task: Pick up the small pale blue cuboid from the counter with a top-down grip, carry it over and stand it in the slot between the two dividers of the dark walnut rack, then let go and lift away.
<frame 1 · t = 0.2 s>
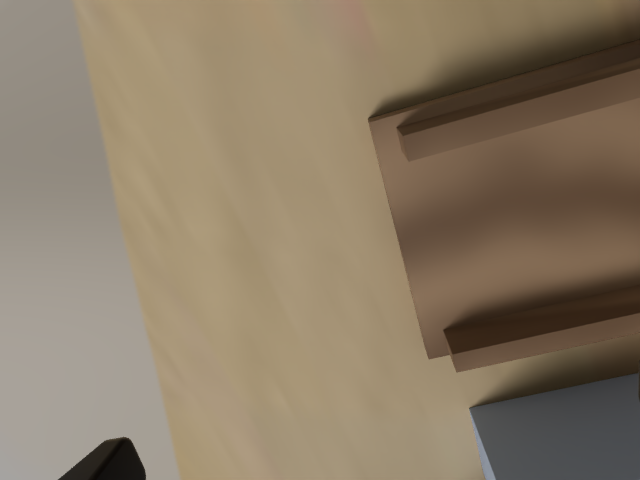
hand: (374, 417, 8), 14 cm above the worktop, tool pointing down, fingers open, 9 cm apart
pale blue cuboid: (557, 424, 27), on the worktop
walnut rack: (551, 205, 22), on the worktop
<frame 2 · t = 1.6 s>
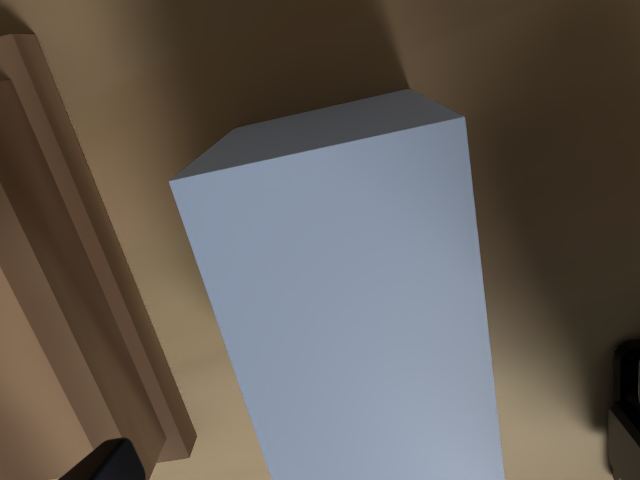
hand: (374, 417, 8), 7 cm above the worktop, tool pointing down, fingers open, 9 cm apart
pale blue cuboid: (351, 252, 15), on the worktop
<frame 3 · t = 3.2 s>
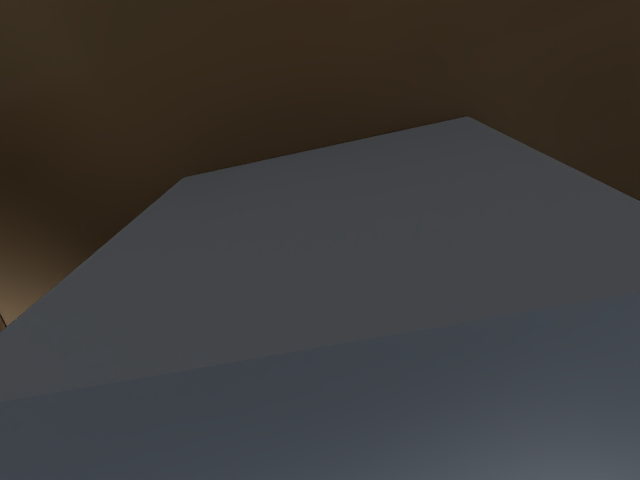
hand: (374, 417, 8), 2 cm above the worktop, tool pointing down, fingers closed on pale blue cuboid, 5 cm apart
pale blue cuboid: (368, 362, 10), on the worktop, touching gripper
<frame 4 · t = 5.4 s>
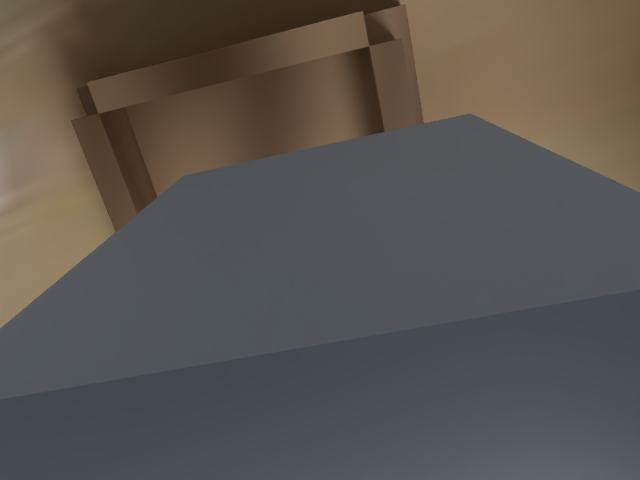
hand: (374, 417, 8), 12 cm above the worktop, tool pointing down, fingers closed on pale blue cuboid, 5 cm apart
pale blue cuboid: (369, 361, 10), point 11 cm above the worktop, touching gripper
walnut rack: (287, 224, 20), on the worktop
when the fingers open (4 cm above the worktop, at t = 7.8 s): pale blue cuboid drops 1 cm, resting on walnut rack.
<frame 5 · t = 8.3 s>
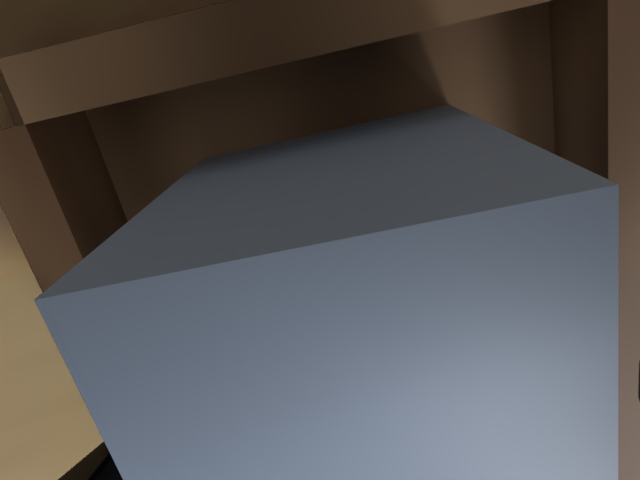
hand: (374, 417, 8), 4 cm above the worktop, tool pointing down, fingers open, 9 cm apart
pale blue cuboid: (364, 323, 11), point 1 cm above the worktop, touching walnut rack
walnut rack: (360, 305, 12), on the worktop
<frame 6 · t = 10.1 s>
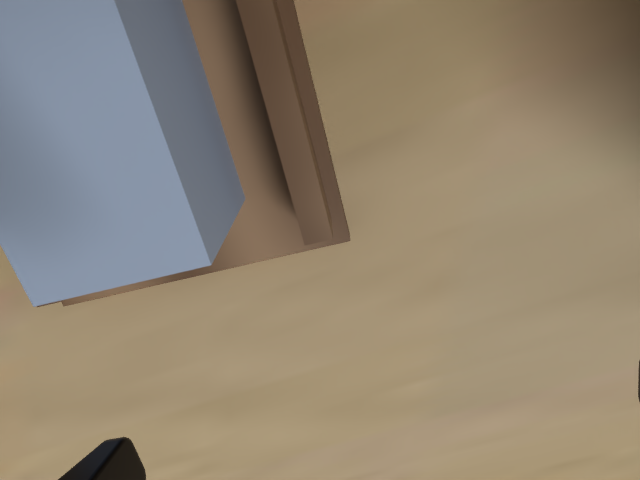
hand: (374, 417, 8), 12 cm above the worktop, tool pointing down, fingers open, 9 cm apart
pale blue cuboid: (137, 93, 17), point 1 cm above the worktop, touching walnut rack
walnut rack: (146, 94, 18), on the worktop
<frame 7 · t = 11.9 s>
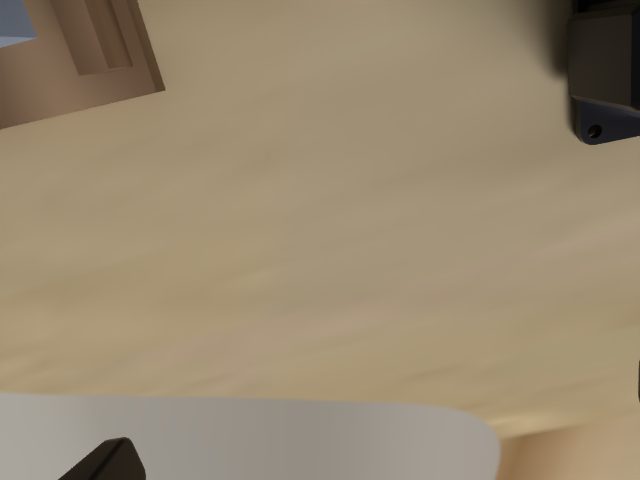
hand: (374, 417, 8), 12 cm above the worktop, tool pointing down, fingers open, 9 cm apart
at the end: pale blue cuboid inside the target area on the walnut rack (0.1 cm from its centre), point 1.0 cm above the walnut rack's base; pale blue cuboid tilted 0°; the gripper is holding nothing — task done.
